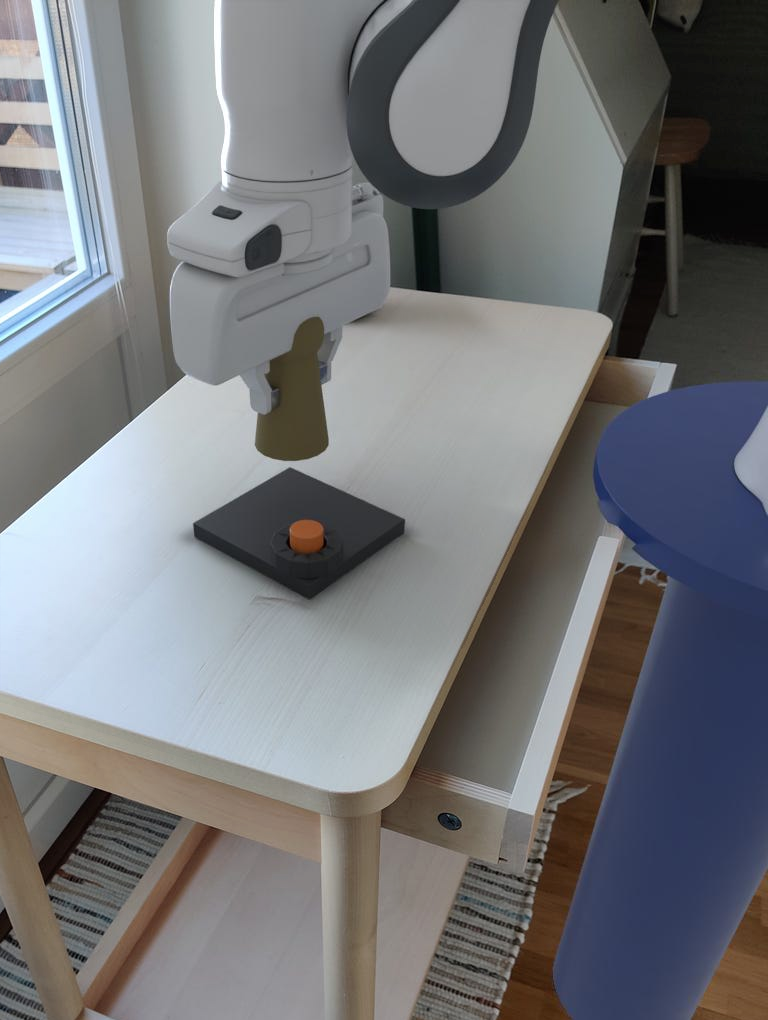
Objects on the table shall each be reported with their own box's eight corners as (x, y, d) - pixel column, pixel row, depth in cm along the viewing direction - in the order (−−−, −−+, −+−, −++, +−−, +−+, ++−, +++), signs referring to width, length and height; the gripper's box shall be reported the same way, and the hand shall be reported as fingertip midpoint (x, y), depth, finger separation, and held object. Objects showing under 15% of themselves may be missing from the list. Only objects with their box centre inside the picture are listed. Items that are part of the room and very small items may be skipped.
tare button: (330, 544, 75) (330, 527, 74) (308, 559, 73) (308, 542, 72) (305, 532, 76) (305, 515, 75) (283, 546, 74) (282, 529, 73)
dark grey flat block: (406, 534, 80) (409, 503, 78) (310, 602, 73) (309, 571, 71) (290, 480, 87) (289, 450, 85) (191, 538, 80) (188, 507, 78)
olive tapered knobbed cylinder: (239, 442, 78) (231, 308, 70) (293, 417, 81) (291, 286, 73) (289, 469, 74) (287, 331, 67) (344, 442, 77) (347, 308, 70)
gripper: (349, 168, 73) (345, 342, 82) (146, 237, 62) (168, 430, 71) (415, 183, 70) (404, 363, 79) (214, 259, 58) (228, 458, 67)
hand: (291, 396), depth 75 cm, fingers closed on olive tapered knobbed cylinder, 4 cm apart
